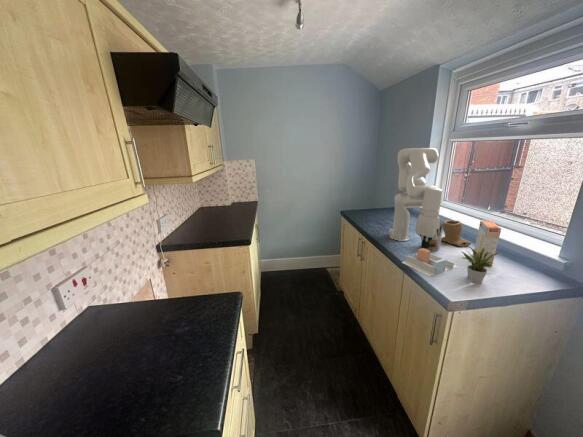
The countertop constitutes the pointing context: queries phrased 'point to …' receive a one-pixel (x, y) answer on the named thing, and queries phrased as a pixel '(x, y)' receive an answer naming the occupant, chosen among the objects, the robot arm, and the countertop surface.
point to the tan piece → (454, 233)
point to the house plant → (478, 265)
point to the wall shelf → (430, 264)
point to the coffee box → (435, 241)
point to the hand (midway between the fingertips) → (424, 247)
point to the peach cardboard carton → (423, 255)
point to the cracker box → (487, 239)
